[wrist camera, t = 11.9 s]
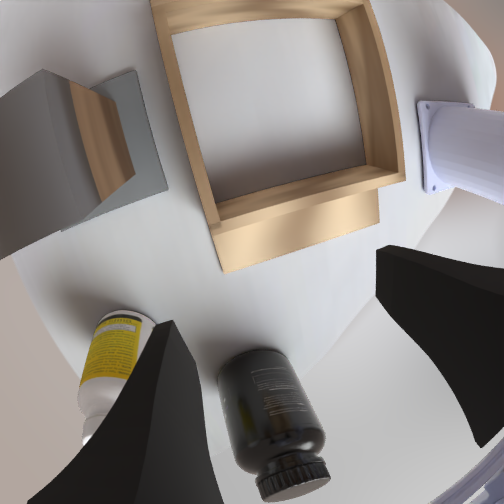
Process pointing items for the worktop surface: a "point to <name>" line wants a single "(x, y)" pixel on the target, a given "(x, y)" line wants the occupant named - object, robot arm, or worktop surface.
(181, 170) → the worktop surface
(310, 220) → the wooden tray
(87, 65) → the worktop surface
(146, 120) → the pad
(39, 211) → the block
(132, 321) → the supplement bottle
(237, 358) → the supplement bottle
